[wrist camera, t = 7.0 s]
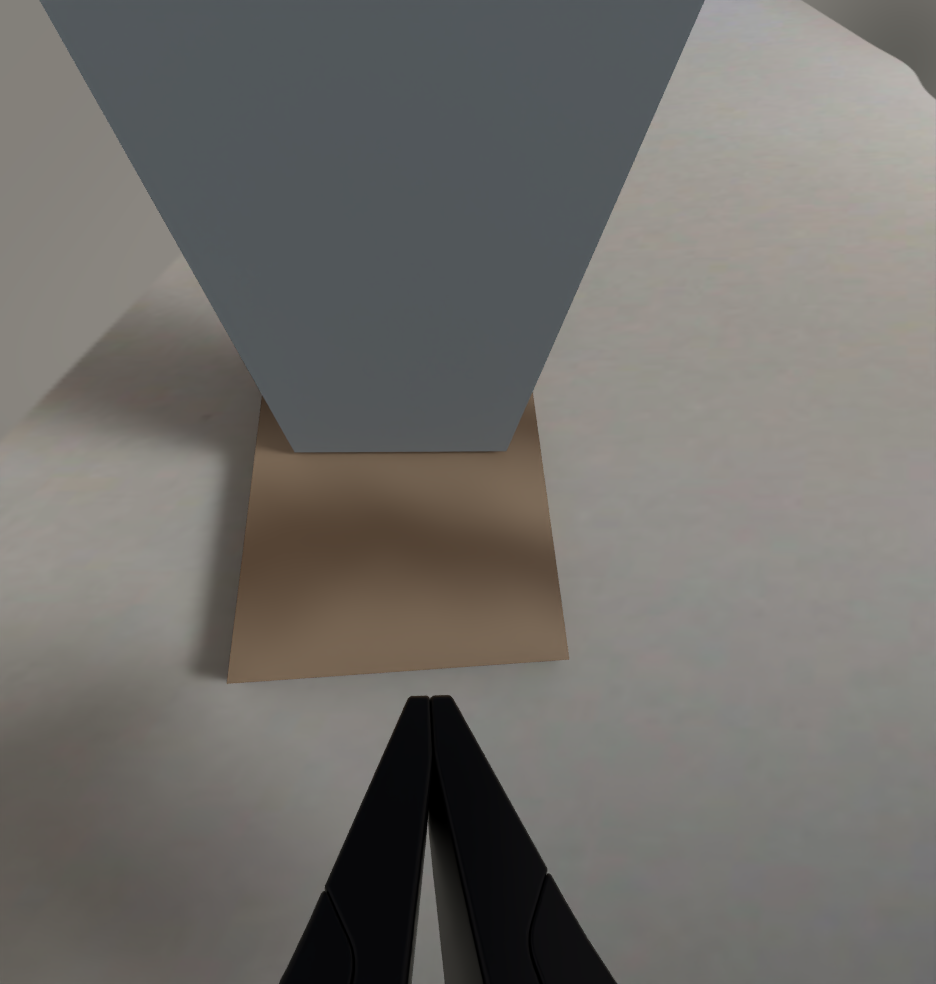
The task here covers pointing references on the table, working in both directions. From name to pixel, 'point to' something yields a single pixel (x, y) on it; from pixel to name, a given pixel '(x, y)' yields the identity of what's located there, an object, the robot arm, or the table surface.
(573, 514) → the table surface
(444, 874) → the robot arm
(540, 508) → the press bed
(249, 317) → the block
